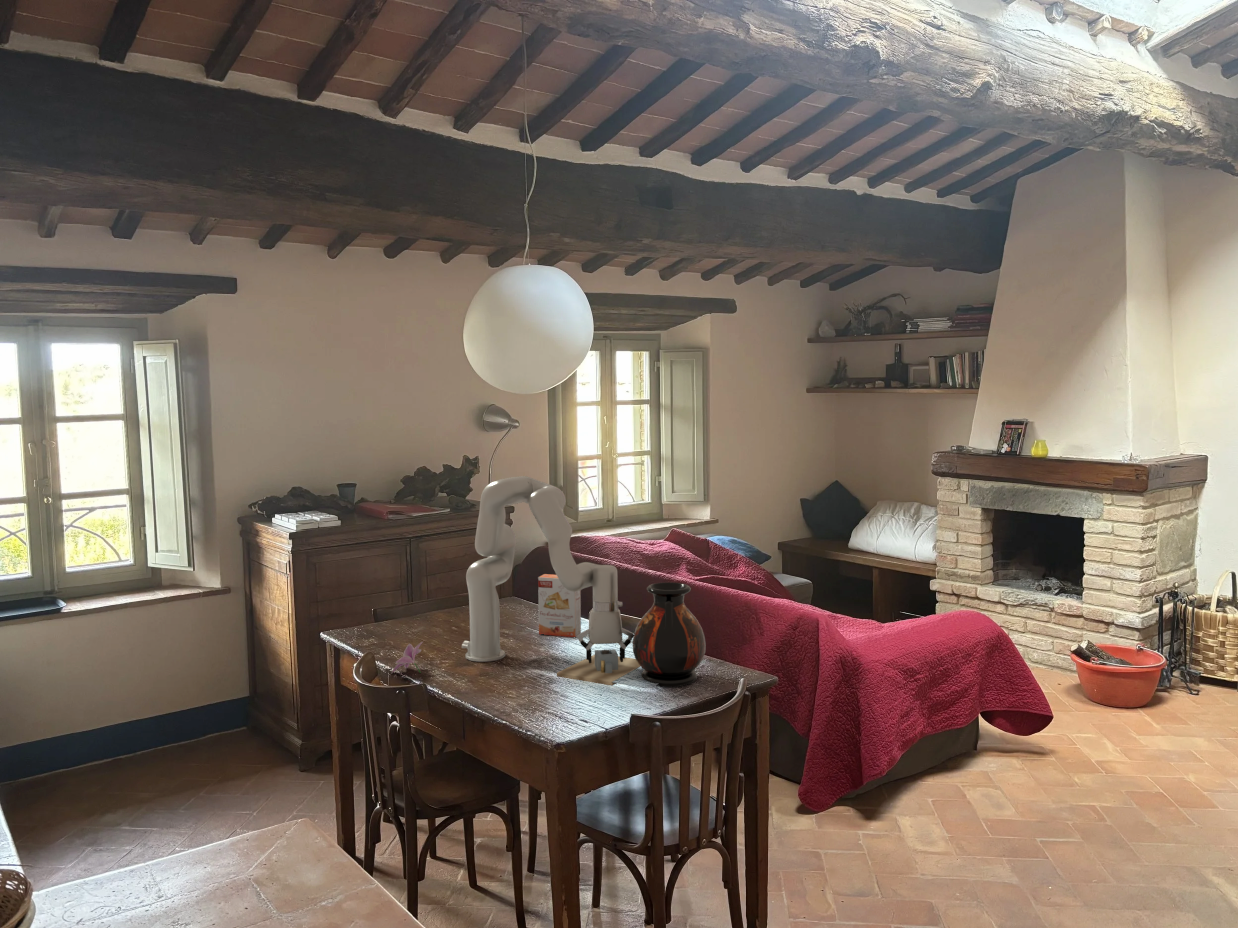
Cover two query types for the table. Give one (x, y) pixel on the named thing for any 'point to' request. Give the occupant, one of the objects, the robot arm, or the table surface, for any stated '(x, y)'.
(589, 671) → the post base
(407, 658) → the lily
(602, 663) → the cylinder
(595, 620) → the robot arm
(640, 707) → the table surface
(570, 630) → the cracker box
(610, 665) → the grey square hole block
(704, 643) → the black orange vase
